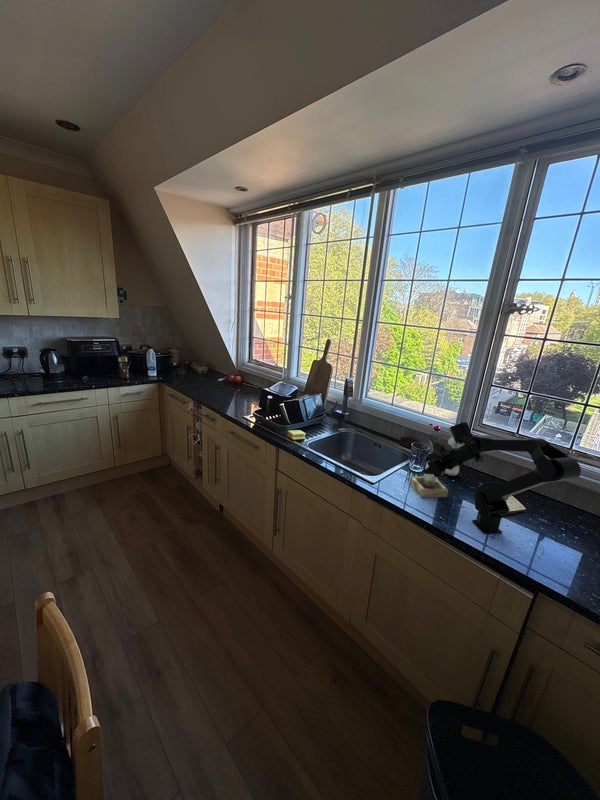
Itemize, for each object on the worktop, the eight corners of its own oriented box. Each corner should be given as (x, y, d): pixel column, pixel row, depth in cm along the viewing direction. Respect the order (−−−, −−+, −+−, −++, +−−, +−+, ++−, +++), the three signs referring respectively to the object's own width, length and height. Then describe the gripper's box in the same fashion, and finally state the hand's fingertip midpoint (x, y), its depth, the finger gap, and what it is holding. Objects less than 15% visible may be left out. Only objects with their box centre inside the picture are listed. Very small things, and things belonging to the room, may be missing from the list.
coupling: (438, 493, 125) (444, 468, 122) (425, 493, 124) (431, 468, 121) (430, 484, 132) (435, 459, 128) (417, 483, 131) (422, 459, 128)
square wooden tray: (446, 497, 124) (448, 490, 123) (421, 497, 123) (422, 490, 122) (433, 483, 134) (434, 476, 133) (409, 482, 132) (410, 476, 132)
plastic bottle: (459, 478, 139) (469, 435, 134) (443, 476, 140) (452, 433, 135) (455, 471, 145) (464, 430, 140) (439, 469, 146) (448, 428, 141)
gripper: (460, 430, 125) (428, 446, 136) (437, 440, 113) (404, 457, 123) (477, 456, 121) (443, 471, 132) (455, 469, 109) (419, 484, 120)
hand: (427, 470), depth 127 cm, fingers open, 6 cm apart
